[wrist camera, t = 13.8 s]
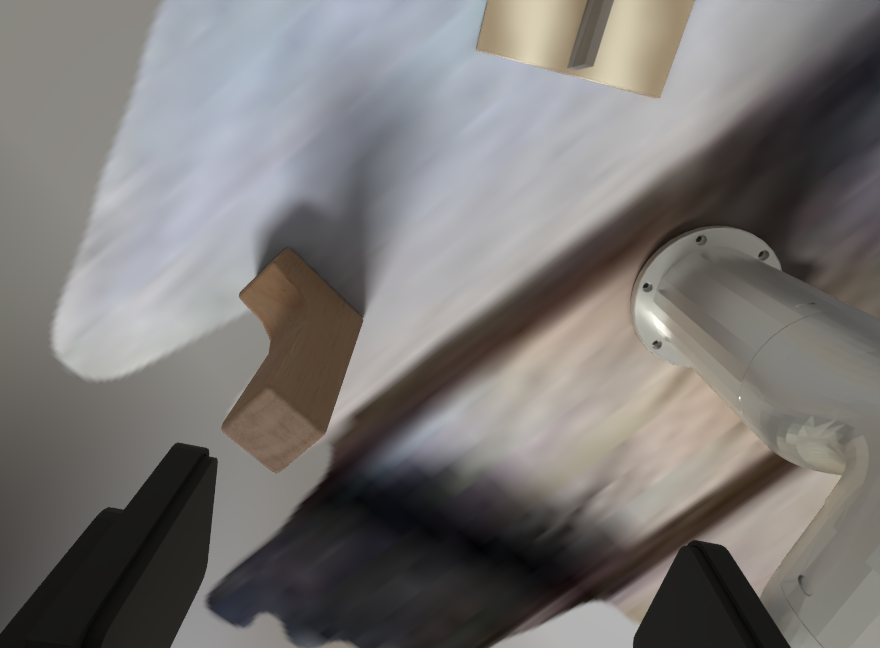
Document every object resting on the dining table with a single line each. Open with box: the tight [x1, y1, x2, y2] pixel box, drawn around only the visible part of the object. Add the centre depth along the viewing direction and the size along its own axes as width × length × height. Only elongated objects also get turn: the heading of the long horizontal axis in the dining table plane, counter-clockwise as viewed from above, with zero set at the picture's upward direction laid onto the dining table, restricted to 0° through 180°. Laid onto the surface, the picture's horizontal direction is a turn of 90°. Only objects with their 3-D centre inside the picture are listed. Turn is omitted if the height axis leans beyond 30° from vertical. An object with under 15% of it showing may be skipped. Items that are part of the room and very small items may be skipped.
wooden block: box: [221, 248, 363, 473], centre depth 39 cm, size 9×4×18 cm, turn 42°
